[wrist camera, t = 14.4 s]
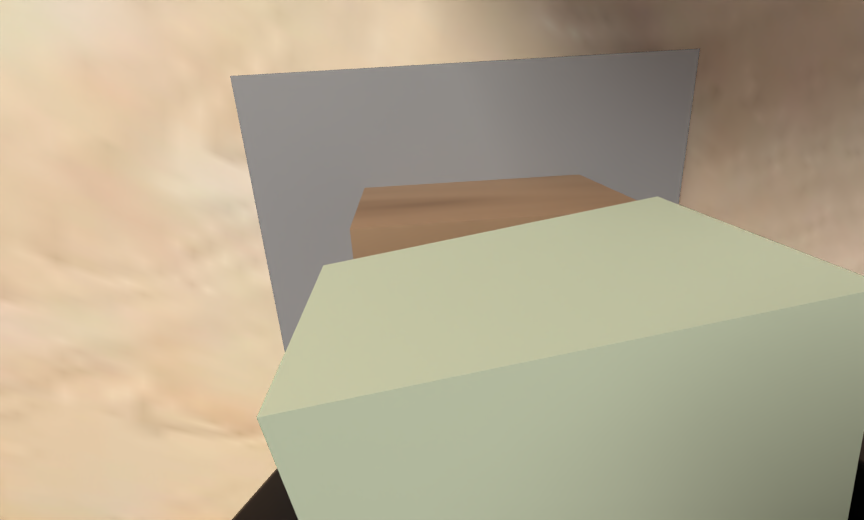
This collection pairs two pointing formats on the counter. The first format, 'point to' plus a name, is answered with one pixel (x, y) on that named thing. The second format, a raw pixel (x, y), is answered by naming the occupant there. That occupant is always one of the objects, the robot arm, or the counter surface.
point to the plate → (449, 140)
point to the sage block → (576, 377)
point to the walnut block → (467, 209)
